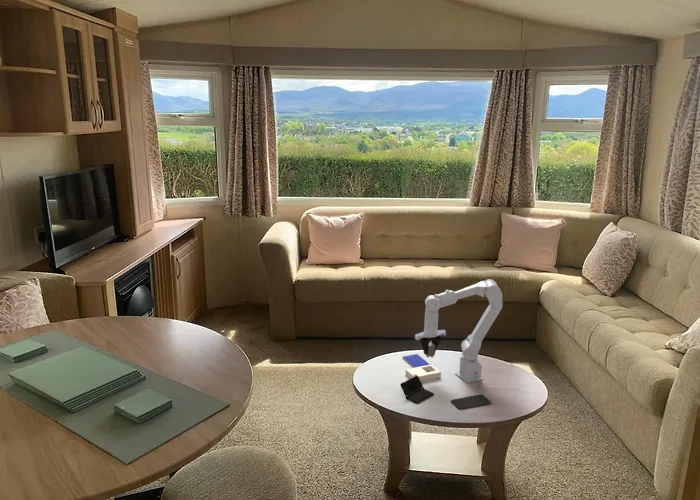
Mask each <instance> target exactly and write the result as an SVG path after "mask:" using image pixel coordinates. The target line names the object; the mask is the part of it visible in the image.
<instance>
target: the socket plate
mask: <svg viewBox="0 0 700 500" xmlns="http://www.w3.org/2000/svg"><path fill="white" fill-rule="evenodd" d="M405 376H406V377H408V378H409V379H411V378H413V377H415V376H418V377H419V379H420V381H421V382H425V381H429V380H434V379H438V378H441V377H442V371H440V369H438V368H437V367H435V366H434V365H432V364H430V365H426V366H420V367H415V368H413V367H411V368H406V369H405Z"/></svg>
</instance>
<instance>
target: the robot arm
mask: <svg viewBox="0 0 700 500" xmlns="http://www.w3.org/2000/svg"><path fill="white" fill-rule="evenodd" d="M475 295H477V296H479V297H482V298H485V297H486V298H487V300H488V303H489V304H488V306H487V307H486V309H485V311H484V312H483V313H482V316H481V317H480V319H479V320H478V323H477V324H476V326H475V328H473V331H472V332H471V334H469V335H468V336H467V337H466V339H463V340H462V342H461V343H460V349H461V351H462V352H461V354H460V357H459V371H457V372H454V375H456V376H457V377H459V378H461V380H462V381H464V382H465V383H467V384H469V383H473V382H479V381H482V380H483V377H482V369H483V368H482V364H481V363H480V362H479V360H478V359H479V358H478V357H479V351H480V350H481V346H482V343H483V340H484V338H485V337H486V335H487V334H488V332H489V330H490V329H491V326H492V325H493V323H494V322H495V320H496V319H497V317H498V316H499V313H500V312H501V311H502V309H503V307H504V306H503V304H504V303H503V293H502V290H501V289H500V287H499V286H498V283H497V282H496V281H495V280H493V279H490V278H489V279H485V280H481V281H479V282H477V283H474V284H472V285H469V286H466V287H464V288H462V289H459V290H456V291H454V290H451V289H450V290H449V289H446V290H445V291H444V292H441V293H439V294H437V293H435V294H434V295H432V294H431V295H428V296H427V297H426V298H425V300H424V304H425V310H424V311H425V313H424V326H423V331H421V332H418V333H416V334H414V340H416V341H420V343H421V345H422V350H423V354H424V353H425V354H428V346H429V343H430V342H432V343H434V344H435V353H436V352H437V348H438V346H439V345H440V342H441V341H442V337H441V336H443V337H446V336H447V331H446V330H445V329H439V330H438V327H439V325H438V324H439V310H440V308H444V307H447V306H452V305H453V304H456V303H457V302H458V300H460V299H464V298H468V297H471V296H475ZM429 338H430V340H429ZM425 354H424V355H425Z"/></svg>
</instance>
